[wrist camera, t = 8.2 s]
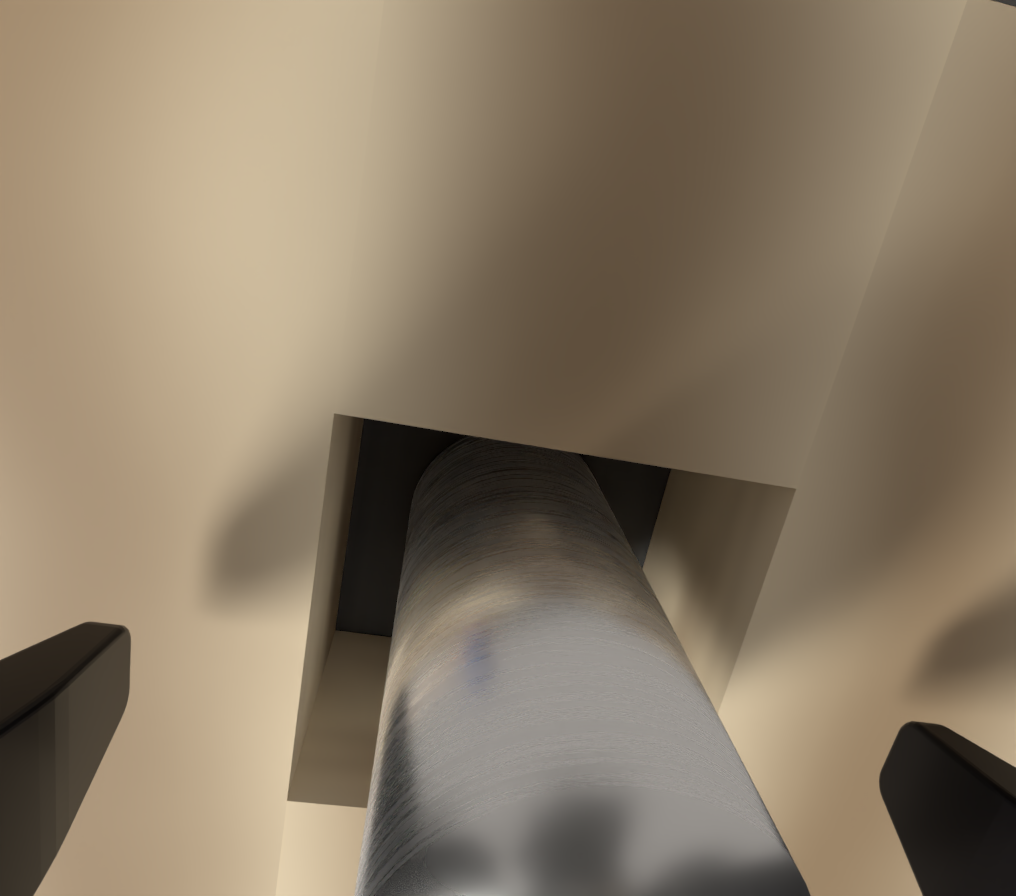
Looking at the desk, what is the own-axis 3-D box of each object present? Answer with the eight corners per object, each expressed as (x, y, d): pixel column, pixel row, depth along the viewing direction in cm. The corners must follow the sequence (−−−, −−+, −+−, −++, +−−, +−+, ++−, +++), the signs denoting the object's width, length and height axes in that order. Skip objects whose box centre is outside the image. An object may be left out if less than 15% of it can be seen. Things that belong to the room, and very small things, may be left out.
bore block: (1088, 144, 11) (1409, 113, 7) (778, 881, 16) (876, 1086, 12) (25, -118, 9) (-277, -345, 5) (42, 819, 14) (-108, 1042, 10)
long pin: (622, 444, 12) (888, 816, 5) (578, 614, 13) (738, 1135, 6) (426, 411, 12) (379, 765, 4) (396, 589, 13) (317, 1121, 5)
